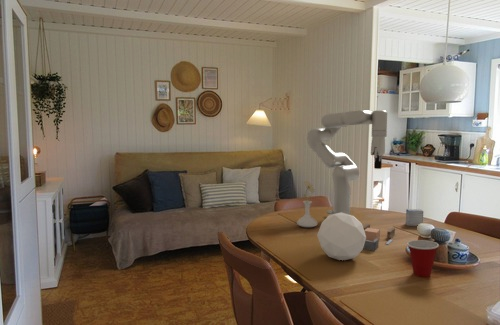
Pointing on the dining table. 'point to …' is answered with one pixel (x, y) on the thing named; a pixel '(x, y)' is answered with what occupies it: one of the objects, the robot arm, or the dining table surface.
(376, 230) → the block
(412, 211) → the medicine box
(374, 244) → the trap bay
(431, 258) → the plastic cup
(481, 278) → the dining table surface
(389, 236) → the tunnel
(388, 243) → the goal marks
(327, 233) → the ball
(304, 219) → the flower in vase
